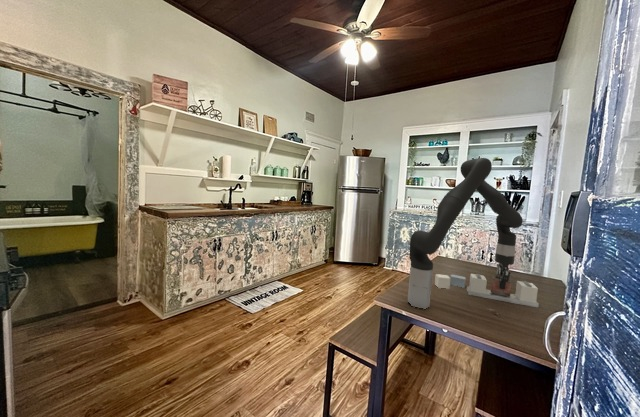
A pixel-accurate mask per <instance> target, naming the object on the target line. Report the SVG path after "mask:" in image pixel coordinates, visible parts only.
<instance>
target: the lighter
mask: <svg viewBox="0 0 640 417" xmlns="http://www.w3.org/2000/svg"><path fill="white" fill-rule="evenodd" d="M501 275H503V274H501ZM498 276H499V274H497V272H496V273H495V276H491V279H492V280H491V288H490V290H491V292H492V293H495V294H500V295H505V296H510V294H511V289H512V283H513V280H512V279H511V278H512V275H510V276H509V280H508V282H506V285H505V289H500V288H499V286H500V276H499V277H498ZM504 279H505V278H504Z"/></svg>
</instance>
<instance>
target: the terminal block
mask: <svg viewBox="0 0 640 417" xmlns="http://www.w3.org/2000/svg"><path fill="white" fill-rule="evenodd" d="M450 278H451V279H450V286H453V285H454V287H457V286H458V288H461V287H462V289H465V286H466V276H462V275H456V274H450Z"/></svg>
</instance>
